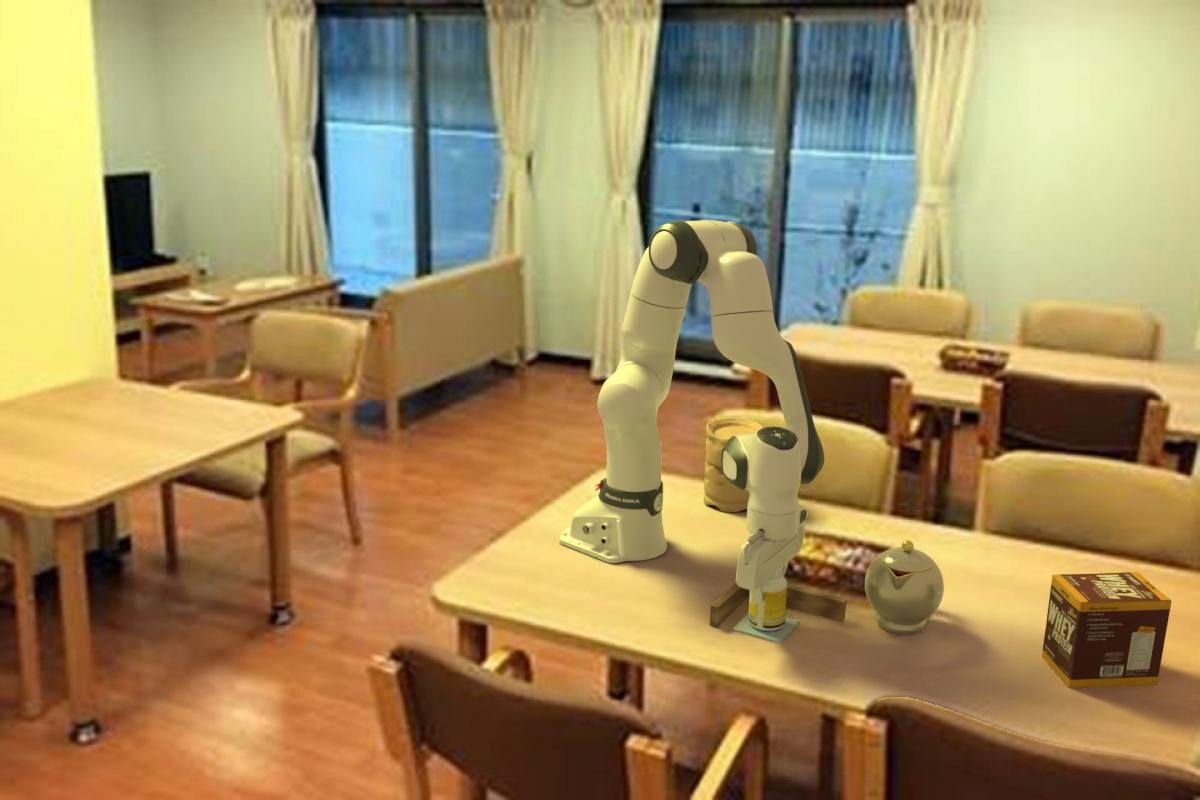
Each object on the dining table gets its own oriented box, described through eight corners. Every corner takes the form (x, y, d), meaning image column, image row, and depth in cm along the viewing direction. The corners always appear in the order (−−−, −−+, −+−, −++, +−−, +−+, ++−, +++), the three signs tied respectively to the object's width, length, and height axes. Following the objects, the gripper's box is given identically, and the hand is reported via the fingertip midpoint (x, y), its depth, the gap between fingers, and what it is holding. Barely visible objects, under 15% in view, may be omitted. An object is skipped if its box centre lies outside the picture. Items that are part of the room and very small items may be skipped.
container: (745, 517, 258) (749, 439, 253) (694, 505, 264) (696, 429, 259) (768, 498, 268) (772, 423, 263) (718, 488, 274) (721, 414, 269)
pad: (732, 630, 209) (732, 628, 209) (753, 610, 216) (753, 608, 216) (780, 643, 205) (780, 641, 204) (799, 622, 212) (799, 620, 212)
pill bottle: (792, 625, 210) (796, 565, 206) (767, 636, 206) (770, 575, 203) (765, 611, 215) (768, 553, 211) (740, 622, 211) (743, 562, 207)
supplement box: (1039, 656, 201) (1051, 573, 197) (1126, 653, 203) (1139, 570, 198) (1067, 688, 192) (1080, 601, 187) (1158, 685, 193) (1173, 599, 188)
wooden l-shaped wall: (709, 625, 211) (710, 605, 209) (745, 592, 223) (746, 573, 222) (814, 655, 201) (815, 633, 200) (845, 618, 214) (846, 598, 212)
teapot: (930, 651, 202) (939, 564, 198) (852, 634, 208) (859, 549, 203) (949, 608, 218) (958, 526, 213) (876, 593, 224) (883, 513, 219)
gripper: (763, 545, 195) (758, 621, 199) (812, 506, 211) (807, 576, 215) (728, 537, 198) (725, 611, 202) (779, 498, 214) (775, 568, 218)
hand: (767, 593), depth 209 cm, fingers closed on pill bottle, 6 cm apart
